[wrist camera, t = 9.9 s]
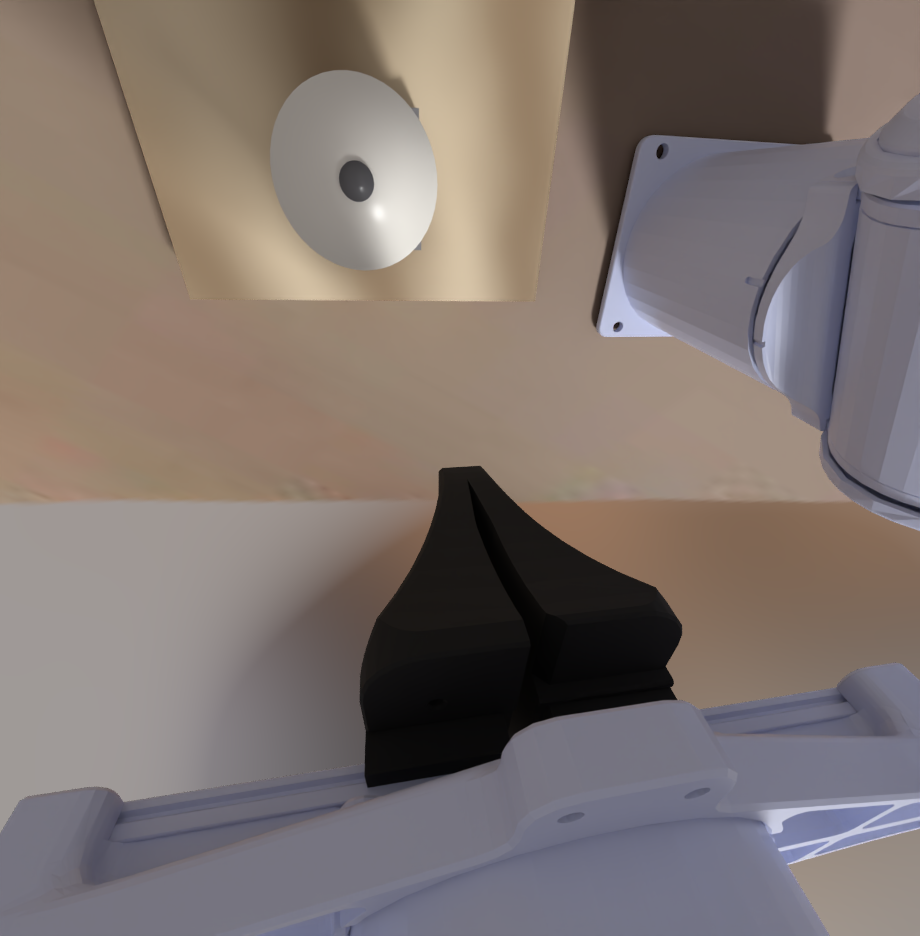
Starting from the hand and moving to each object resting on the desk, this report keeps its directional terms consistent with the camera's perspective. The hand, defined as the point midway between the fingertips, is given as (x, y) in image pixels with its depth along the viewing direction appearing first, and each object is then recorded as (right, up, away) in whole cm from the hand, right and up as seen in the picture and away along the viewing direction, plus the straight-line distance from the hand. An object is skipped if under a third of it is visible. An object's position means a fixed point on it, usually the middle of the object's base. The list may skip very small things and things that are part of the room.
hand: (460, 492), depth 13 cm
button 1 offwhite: (-3, +10, +1) cm, 11 cm away
